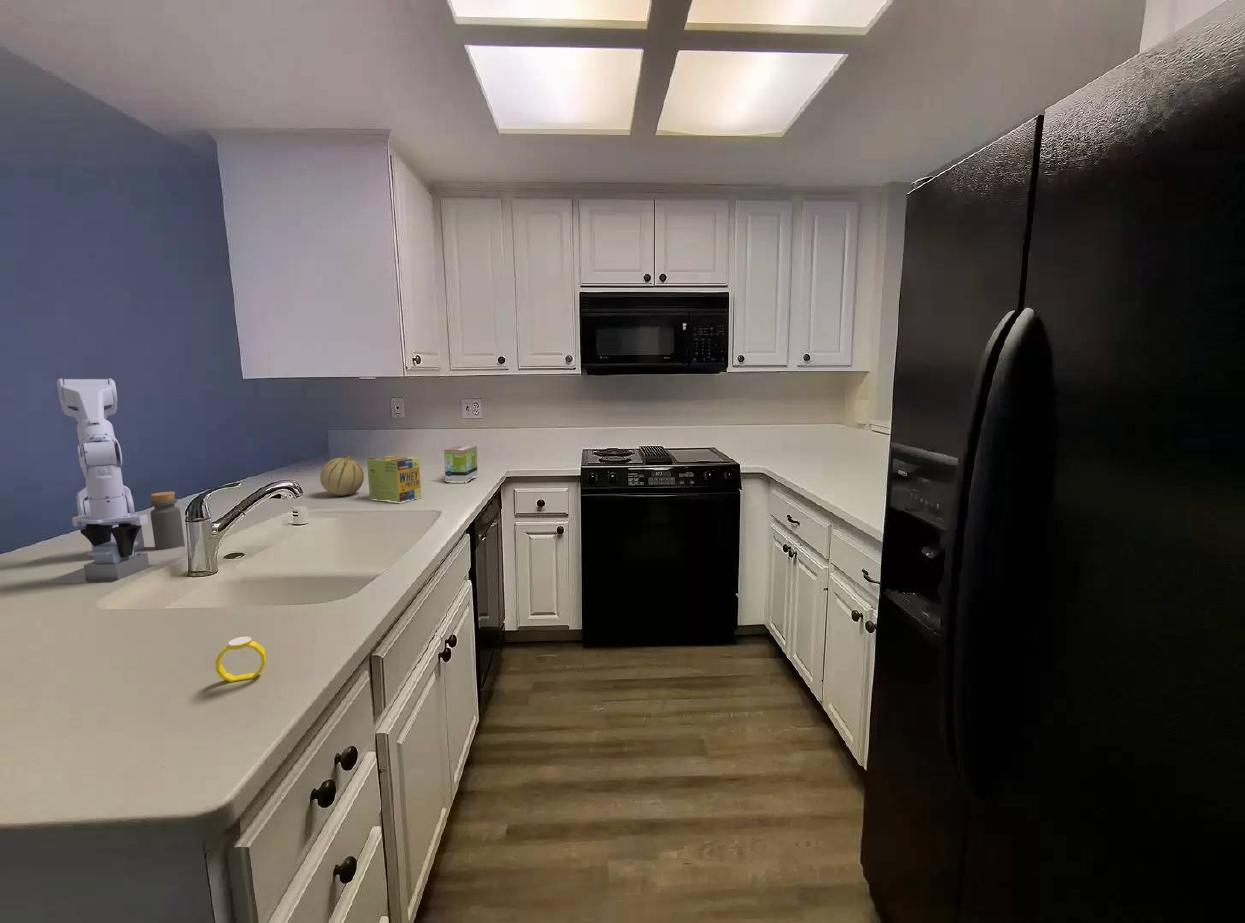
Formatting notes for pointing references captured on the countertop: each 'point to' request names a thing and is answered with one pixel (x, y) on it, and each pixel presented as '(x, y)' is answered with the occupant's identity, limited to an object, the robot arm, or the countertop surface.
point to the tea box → (460, 463)
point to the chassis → (105, 571)
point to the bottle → (166, 521)
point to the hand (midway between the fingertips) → (116, 556)
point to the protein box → (394, 478)
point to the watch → (234, 645)
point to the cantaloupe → (342, 476)
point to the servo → (108, 553)
